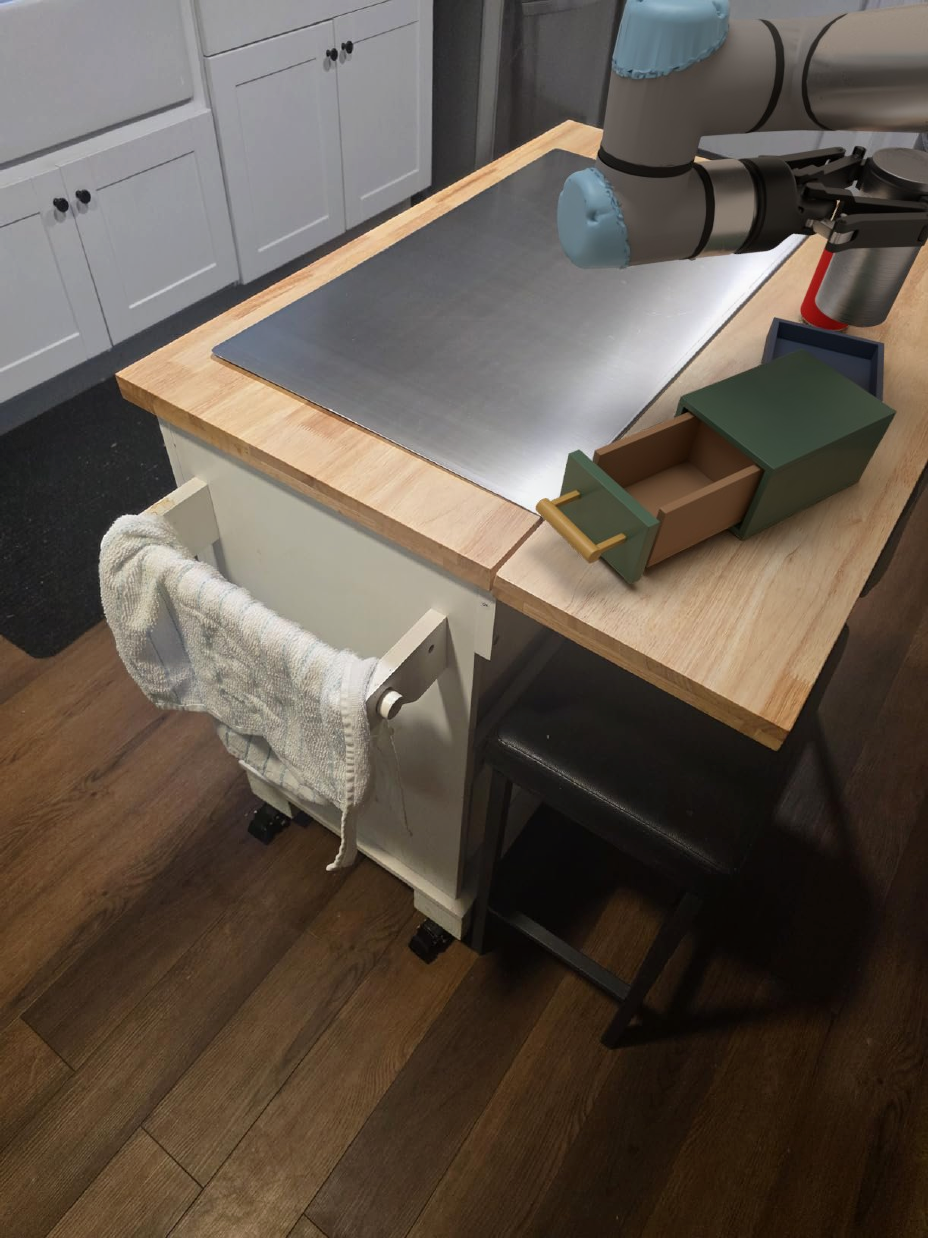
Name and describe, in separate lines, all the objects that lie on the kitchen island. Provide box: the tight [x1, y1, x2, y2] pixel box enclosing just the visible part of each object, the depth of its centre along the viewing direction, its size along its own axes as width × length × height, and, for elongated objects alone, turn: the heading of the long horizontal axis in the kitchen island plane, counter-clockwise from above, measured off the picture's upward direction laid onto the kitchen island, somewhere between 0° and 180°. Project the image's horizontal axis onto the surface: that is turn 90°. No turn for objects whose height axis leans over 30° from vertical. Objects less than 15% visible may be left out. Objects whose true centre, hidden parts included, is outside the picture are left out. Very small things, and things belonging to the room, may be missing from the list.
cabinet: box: [673, 349, 897, 541], centre depth 82 cm, size 16×11×8 cm
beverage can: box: [799, 239, 850, 332], centre depth 100 cm, size 6×6×12 cm
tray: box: [760, 316, 885, 403], centre depth 95 cm, size 15×12×3 cm
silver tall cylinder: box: [815, 146, 928, 328], centre depth 83 cm, size 8×8×14 cm
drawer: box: [535, 412, 765, 585], centre depth 75 cm, size 20×10×7 cm, turn 124°
